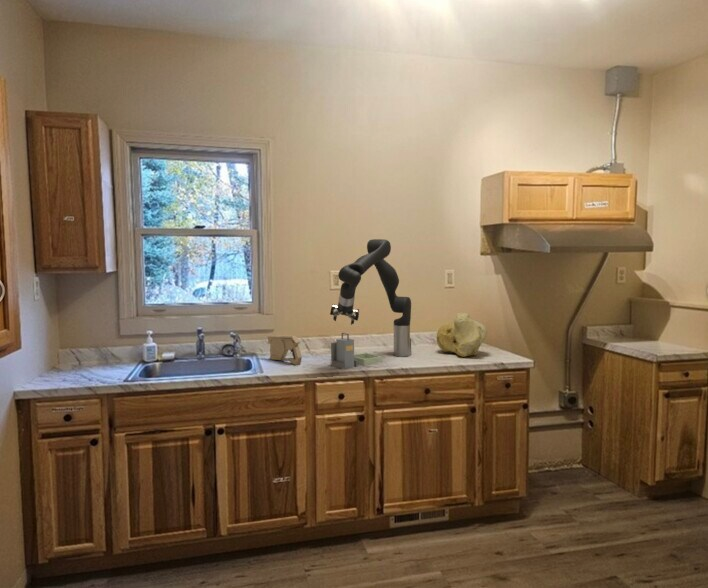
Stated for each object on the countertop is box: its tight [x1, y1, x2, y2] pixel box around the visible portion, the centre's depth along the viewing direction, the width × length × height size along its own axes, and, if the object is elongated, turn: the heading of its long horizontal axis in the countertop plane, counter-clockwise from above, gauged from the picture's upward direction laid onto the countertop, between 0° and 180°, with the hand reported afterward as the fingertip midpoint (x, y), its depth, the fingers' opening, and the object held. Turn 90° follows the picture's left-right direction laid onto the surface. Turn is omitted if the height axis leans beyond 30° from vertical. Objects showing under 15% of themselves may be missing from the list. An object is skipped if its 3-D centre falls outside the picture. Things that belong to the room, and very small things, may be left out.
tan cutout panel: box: [267, 335, 303, 366], centre depth 269 cm, size 24×3×15 cm, turn 47°
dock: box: [330, 341, 359, 370], centre depth 258 cm, size 10×10×12 cm
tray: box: [354, 352, 383, 366], centre depth 269 cm, size 12×13×3 cm
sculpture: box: [436, 311, 487, 358], centre depth 286 cm, size 25×26×30 cm
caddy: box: [335, 332, 355, 369], centre depth 257 cm, size 6×7×17 cm
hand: (343, 321), depth 257 cm, fingers open, 8 cm apart
